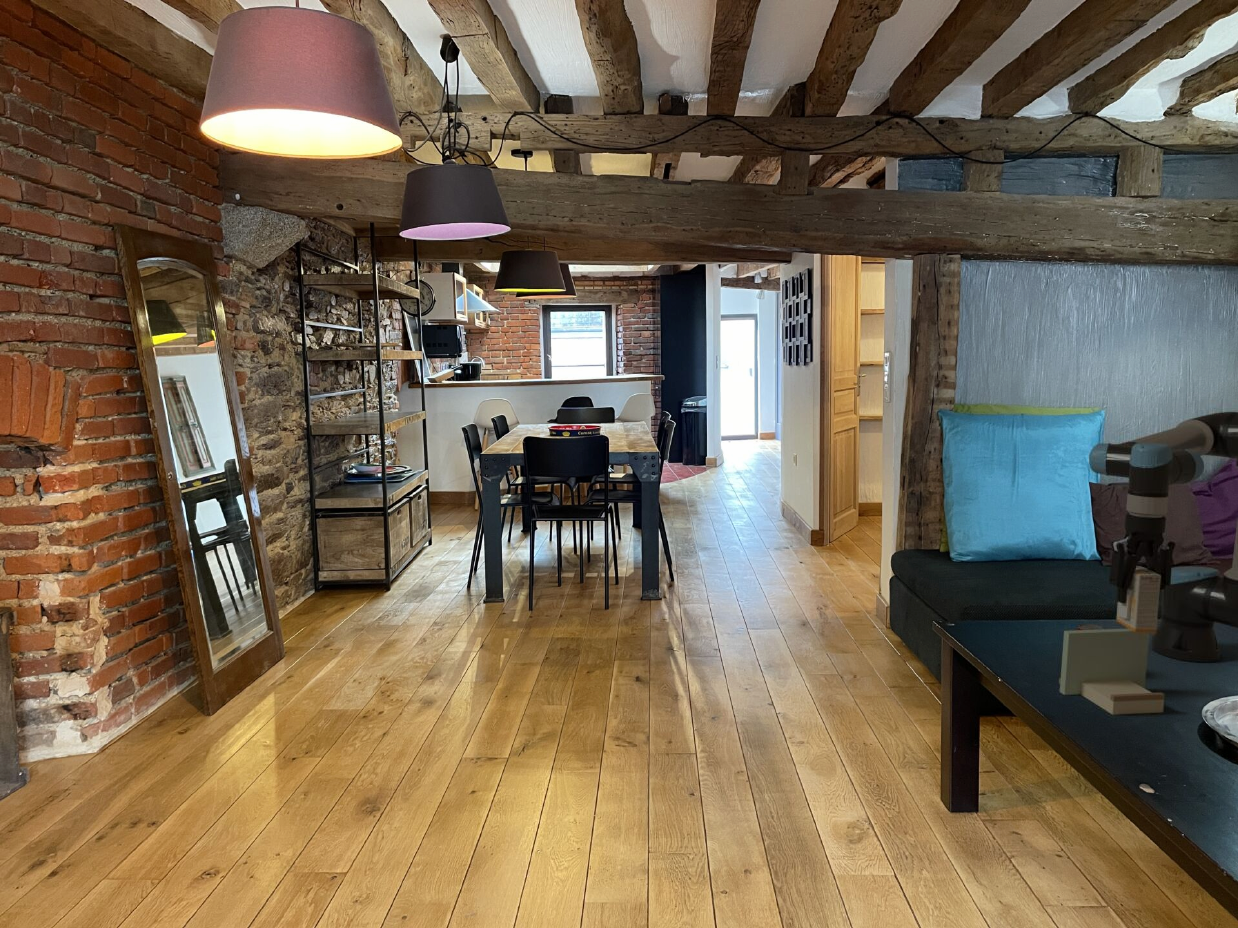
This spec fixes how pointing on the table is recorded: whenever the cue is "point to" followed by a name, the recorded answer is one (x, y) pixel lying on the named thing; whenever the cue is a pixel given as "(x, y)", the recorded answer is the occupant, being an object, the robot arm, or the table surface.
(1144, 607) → the supplement box
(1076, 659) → the wall board
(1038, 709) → the table surface
